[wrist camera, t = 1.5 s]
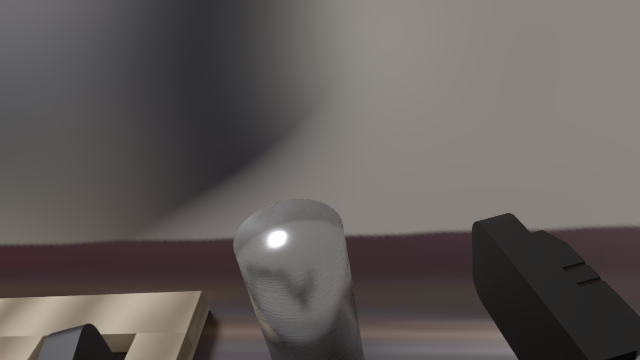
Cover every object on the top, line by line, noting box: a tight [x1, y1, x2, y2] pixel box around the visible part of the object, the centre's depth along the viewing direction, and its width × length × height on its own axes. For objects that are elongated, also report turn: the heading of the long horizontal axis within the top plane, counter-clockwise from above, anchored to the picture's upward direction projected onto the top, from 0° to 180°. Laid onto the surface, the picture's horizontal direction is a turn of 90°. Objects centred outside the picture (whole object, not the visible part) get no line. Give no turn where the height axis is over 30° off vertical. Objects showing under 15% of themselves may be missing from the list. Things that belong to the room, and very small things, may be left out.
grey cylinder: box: [234, 199, 365, 360], centre depth 26 cm, size 6×5×12 cm
